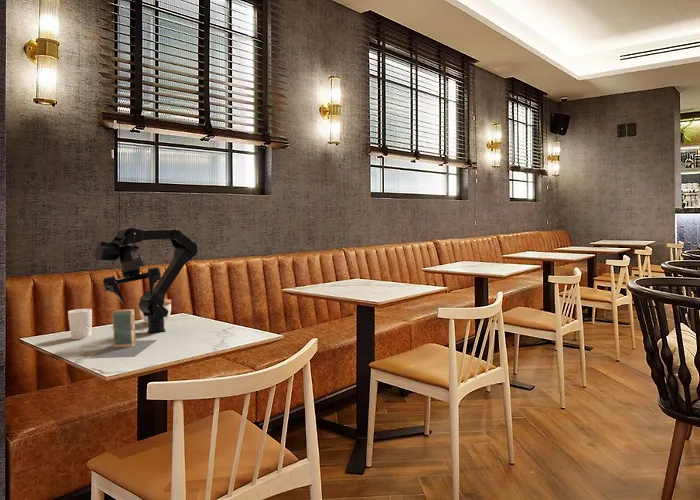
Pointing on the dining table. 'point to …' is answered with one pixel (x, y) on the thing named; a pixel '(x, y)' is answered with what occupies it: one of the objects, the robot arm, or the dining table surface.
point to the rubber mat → (123, 350)
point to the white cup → (80, 323)
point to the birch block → (124, 328)
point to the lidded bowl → (166, 305)
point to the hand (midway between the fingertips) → (137, 300)
